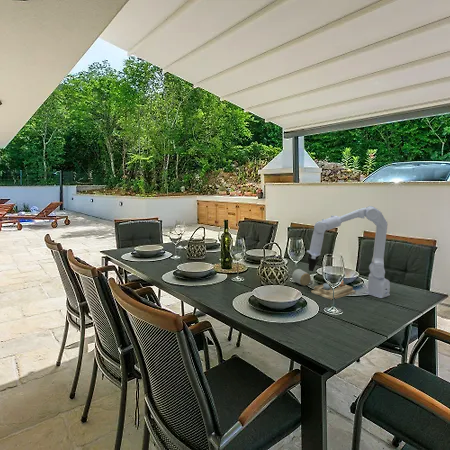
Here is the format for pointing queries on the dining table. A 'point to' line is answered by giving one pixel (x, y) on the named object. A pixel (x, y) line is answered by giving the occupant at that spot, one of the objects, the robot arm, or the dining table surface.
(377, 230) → the robot arm
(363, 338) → the dining table surface
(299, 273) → the grey canister
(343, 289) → the light wood flat board
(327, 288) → the slate button
